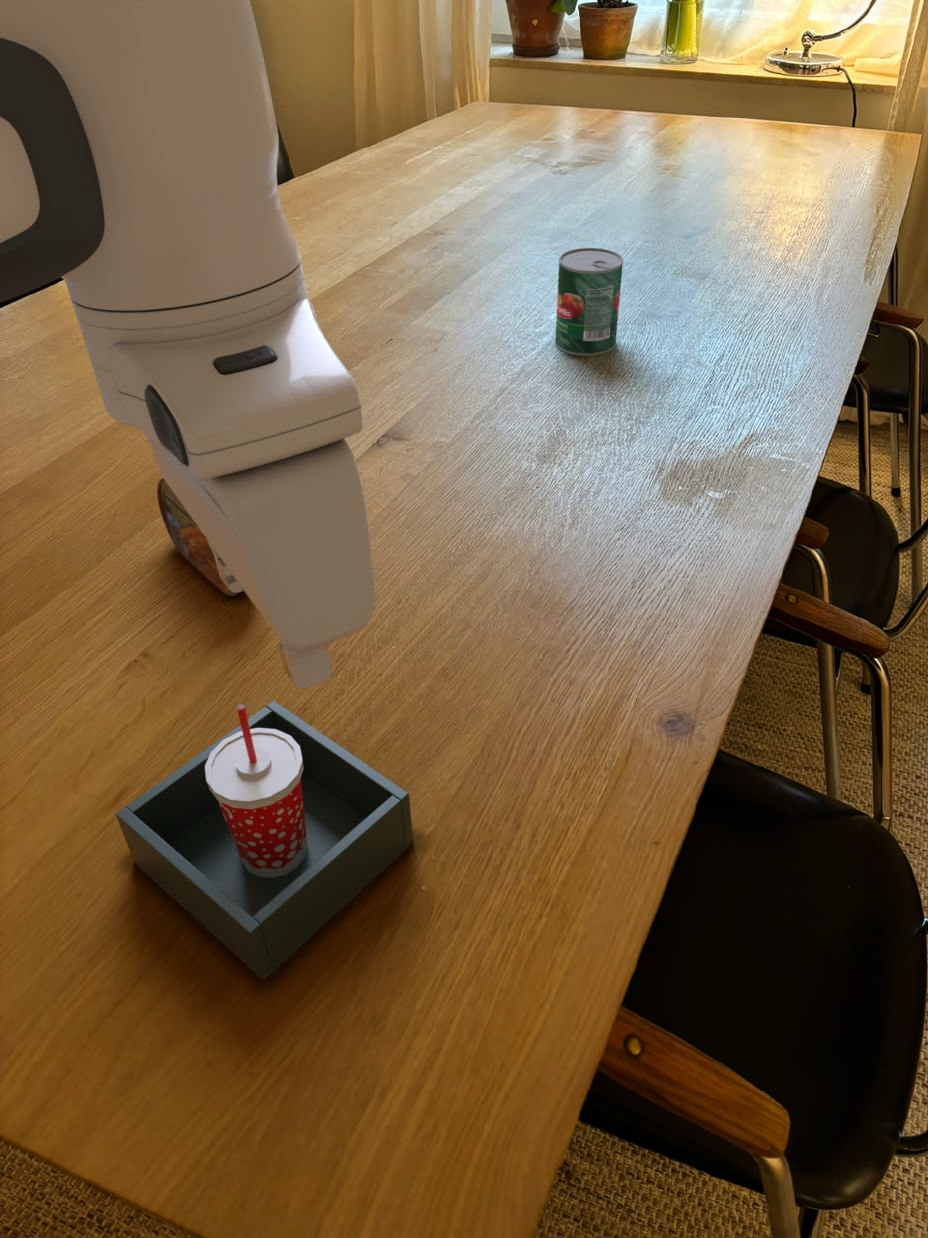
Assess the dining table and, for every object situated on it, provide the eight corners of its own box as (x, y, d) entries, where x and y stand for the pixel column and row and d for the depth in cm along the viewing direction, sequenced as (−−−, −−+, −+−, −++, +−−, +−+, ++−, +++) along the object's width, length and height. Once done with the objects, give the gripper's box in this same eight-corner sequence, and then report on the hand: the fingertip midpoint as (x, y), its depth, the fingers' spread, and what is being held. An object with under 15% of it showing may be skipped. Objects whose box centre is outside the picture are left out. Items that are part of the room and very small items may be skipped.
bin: (263, 981, 61) (250, 933, 58) (134, 862, 68) (114, 813, 65) (413, 842, 69) (409, 793, 66) (283, 748, 76) (273, 699, 72)
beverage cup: (234, 817, 71) (195, 674, 61) (320, 811, 71) (295, 668, 62) (224, 891, 66) (181, 748, 57) (316, 884, 66) (288, 741, 57)
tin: (164, 539, 97) (145, 464, 92) (193, 526, 99) (175, 453, 93) (243, 613, 88) (226, 536, 83) (273, 598, 90) (259, 521, 84)
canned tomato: (542, 342, 129) (545, 258, 122) (583, 324, 133) (589, 242, 126) (587, 362, 124) (592, 276, 117) (628, 343, 128) (636, 258, 121)
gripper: (76, 306, 47) (155, 557, 54) (201, 456, 31) (285, 774, 39) (206, 276, 49) (263, 522, 57) (380, 403, 34) (426, 714, 41)
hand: (273, 627), depth 48 cm, fingers open, 8 cm apart
